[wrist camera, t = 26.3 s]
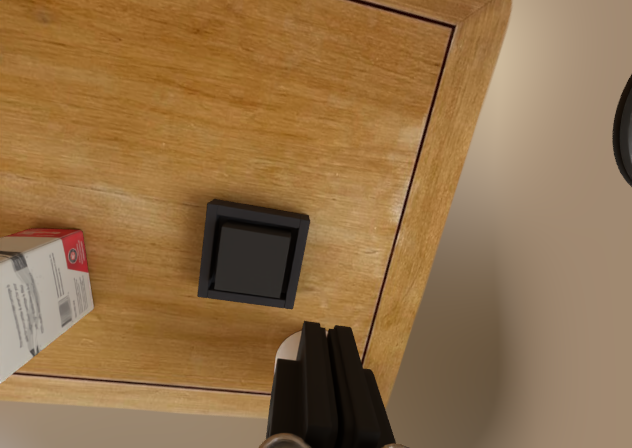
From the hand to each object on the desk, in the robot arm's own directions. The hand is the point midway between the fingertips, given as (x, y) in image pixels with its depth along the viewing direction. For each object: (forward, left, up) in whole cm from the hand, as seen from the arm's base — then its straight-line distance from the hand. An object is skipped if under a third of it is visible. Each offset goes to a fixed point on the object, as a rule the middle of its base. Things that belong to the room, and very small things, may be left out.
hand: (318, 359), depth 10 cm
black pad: (+4, +4, -19) cm, 20 cm away
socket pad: (+4, +4, -20) cm, 20 cm away
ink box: (+22, +9, -20) cm, 31 cm away
